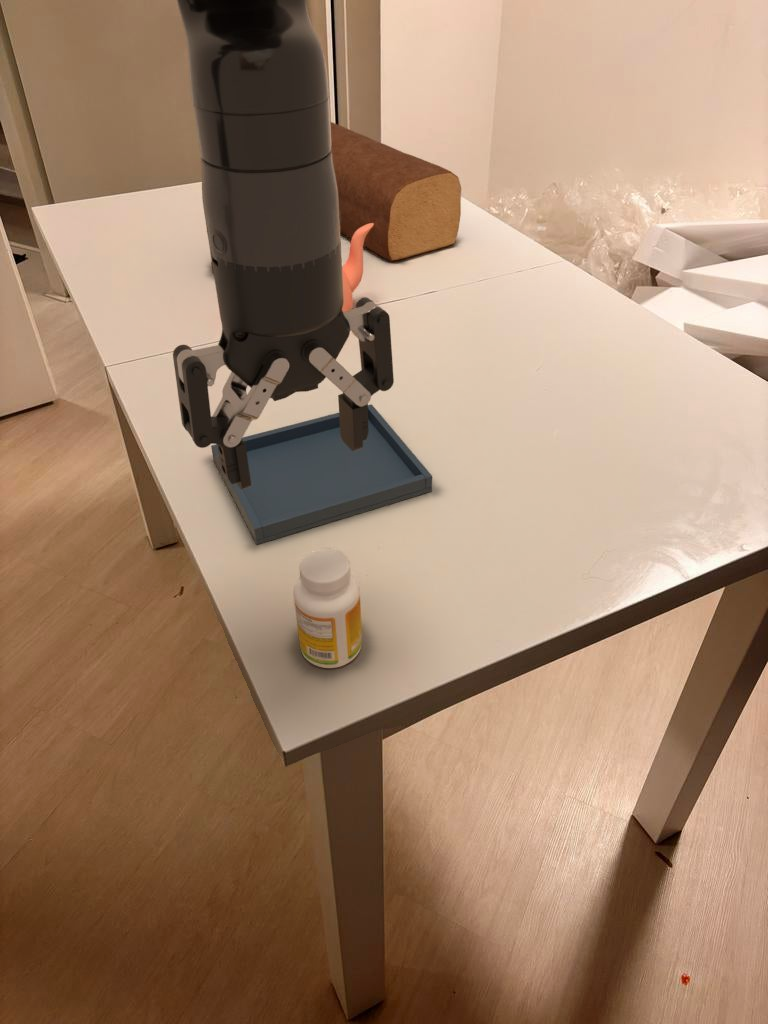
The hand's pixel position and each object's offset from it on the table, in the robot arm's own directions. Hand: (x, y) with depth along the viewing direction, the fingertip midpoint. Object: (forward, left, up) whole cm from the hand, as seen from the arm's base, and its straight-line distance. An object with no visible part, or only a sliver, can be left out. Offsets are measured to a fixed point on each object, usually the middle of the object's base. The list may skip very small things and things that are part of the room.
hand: (297, 462), depth 56 cm
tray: (+9, +23, -20) cm, 32 cm away
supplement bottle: (+1, 0, -20) cm, 20 cm away
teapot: (+21, +59, -20) cm, 66 cm away
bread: (+44, +91, -20) cm, 103 cm away
